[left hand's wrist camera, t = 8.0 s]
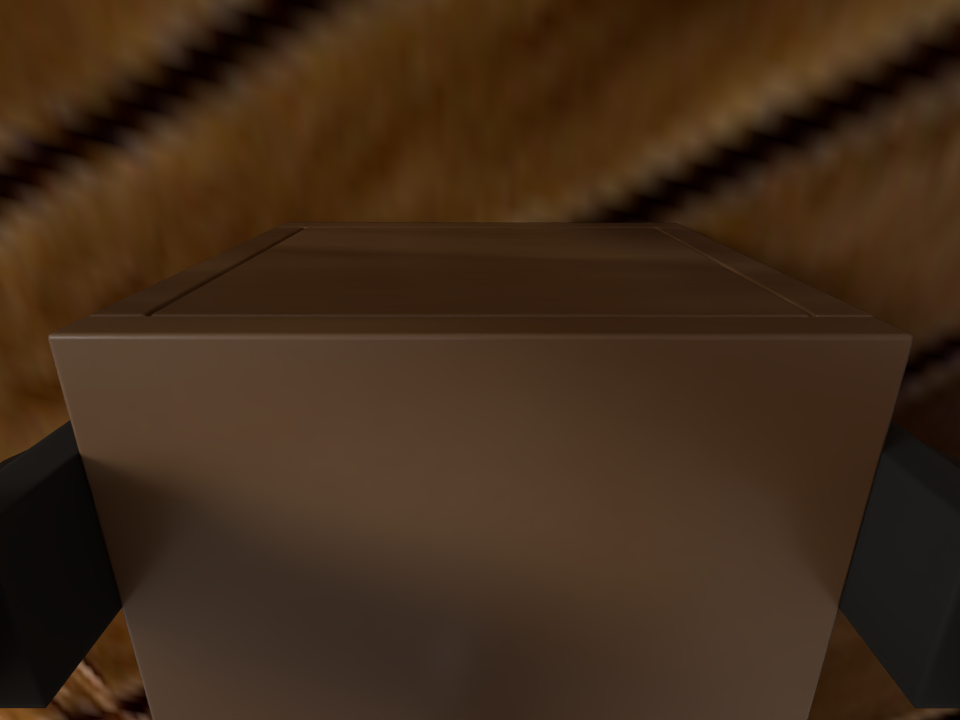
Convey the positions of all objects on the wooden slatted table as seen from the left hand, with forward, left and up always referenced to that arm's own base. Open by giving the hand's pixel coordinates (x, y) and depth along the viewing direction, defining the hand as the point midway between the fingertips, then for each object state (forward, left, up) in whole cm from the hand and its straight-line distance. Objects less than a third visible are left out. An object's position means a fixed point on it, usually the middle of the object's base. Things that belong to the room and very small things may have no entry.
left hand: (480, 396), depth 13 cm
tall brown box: (+3, +5, -5) cm, 8 cm away
